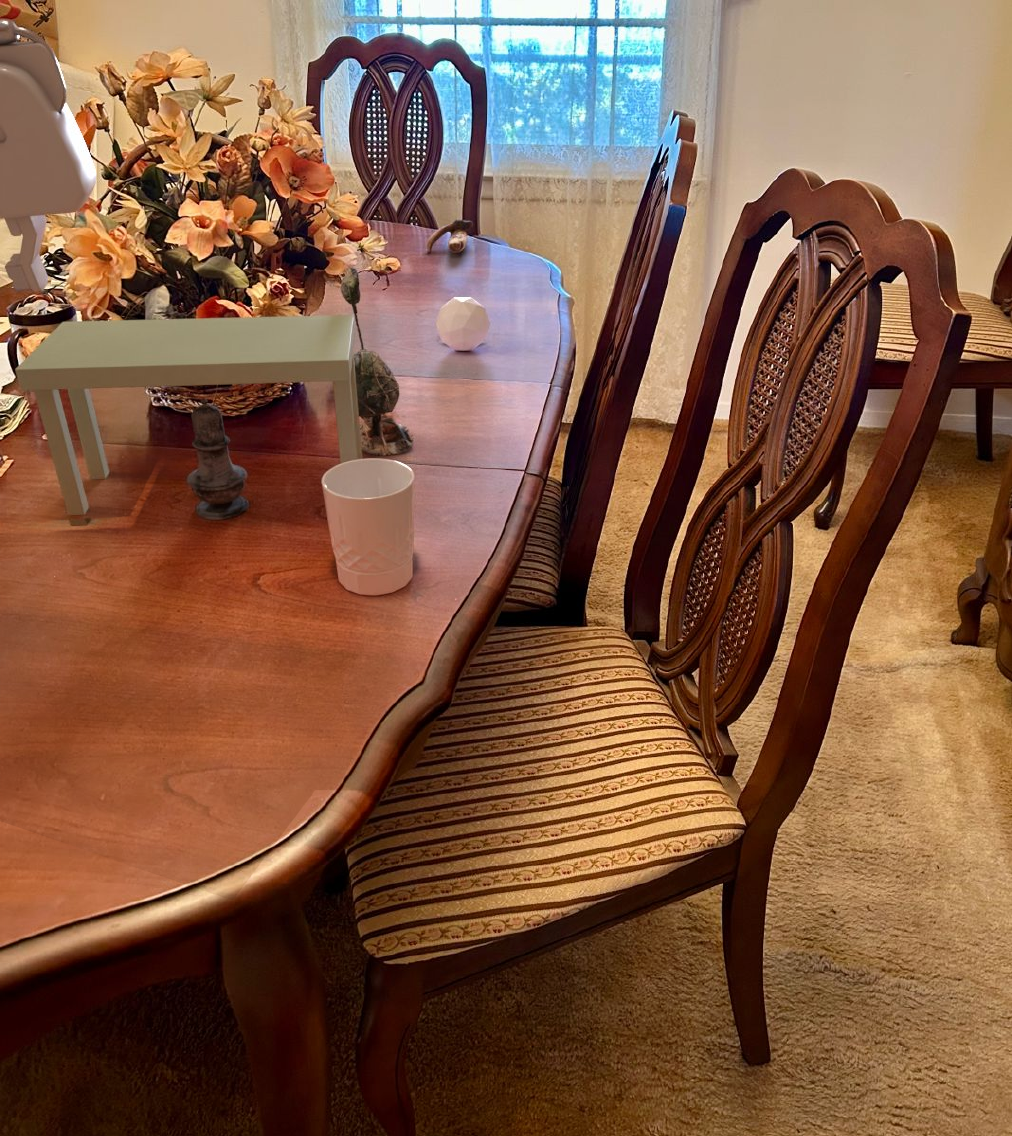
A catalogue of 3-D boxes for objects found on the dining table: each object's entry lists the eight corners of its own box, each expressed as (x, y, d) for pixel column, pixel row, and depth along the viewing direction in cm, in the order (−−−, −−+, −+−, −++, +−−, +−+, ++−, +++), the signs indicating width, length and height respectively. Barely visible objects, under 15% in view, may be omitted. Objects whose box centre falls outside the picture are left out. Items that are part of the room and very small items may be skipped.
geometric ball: (457, 362, 142) (456, 311, 143) (500, 351, 138) (499, 299, 139) (425, 349, 136) (425, 296, 137) (470, 337, 132) (469, 283, 132)
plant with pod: (337, 465, 105) (319, 286, 94) (352, 426, 114) (338, 259, 104) (409, 466, 105) (400, 287, 94) (418, 426, 114) (410, 259, 104)
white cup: (397, 607, 81) (390, 505, 75) (316, 590, 83) (304, 490, 78) (432, 562, 87) (428, 465, 82) (356, 548, 89) (347, 452, 84)
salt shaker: (230, 525, 93) (210, 412, 87) (180, 515, 95) (158, 403, 88) (262, 500, 98) (246, 391, 91) (215, 490, 99) (196, 383, 93)
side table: (62, 537, 91) (14, 369, 82) (100, 474, 102) (62, 321, 94) (362, 524, 93) (348, 359, 84) (365, 464, 105) (353, 314, 96)
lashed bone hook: (431, 240, 202) (423, 258, 186) (430, 217, 200) (422, 233, 184) (474, 239, 202) (470, 257, 186) (473, 216, 199) (469, 232, 184)
